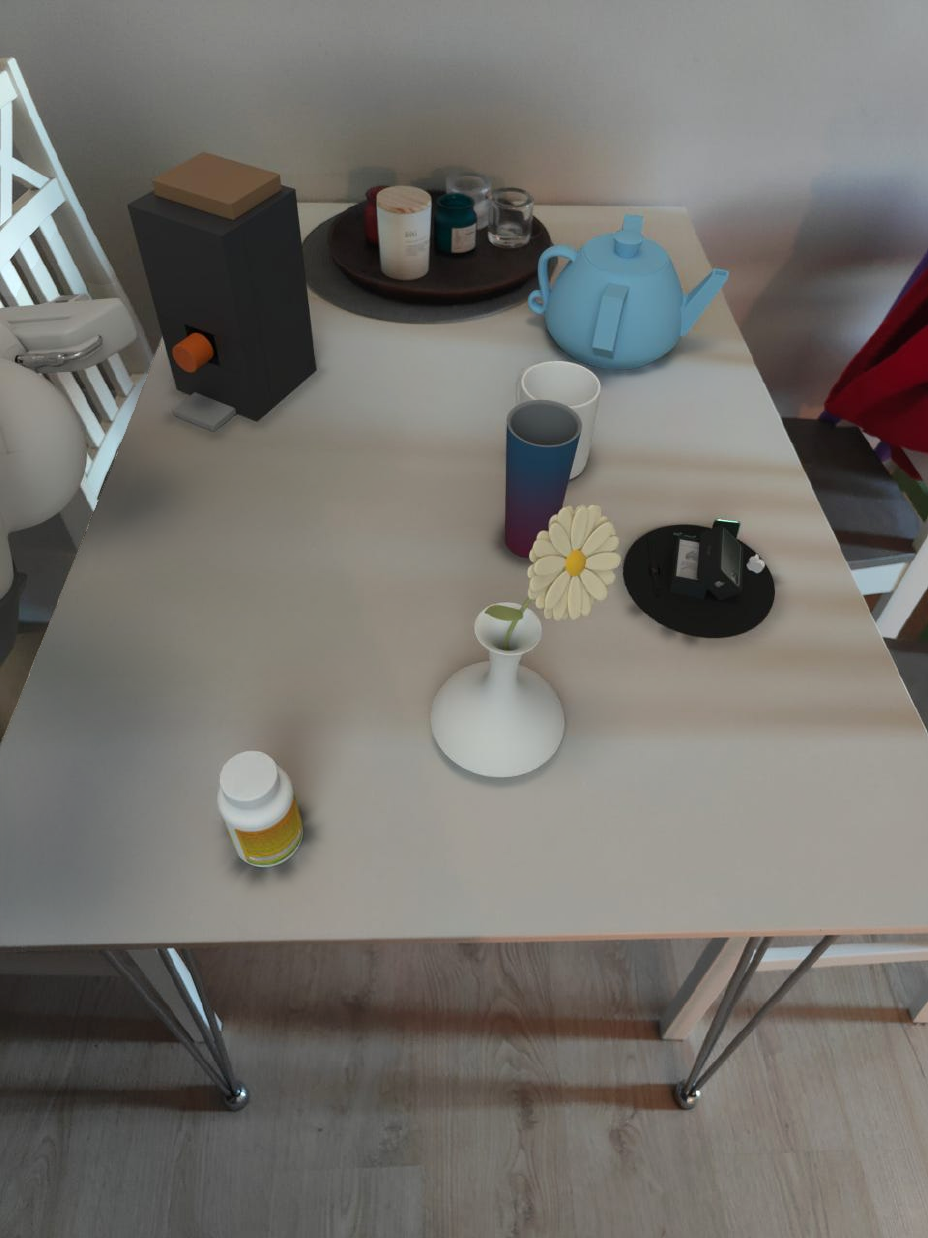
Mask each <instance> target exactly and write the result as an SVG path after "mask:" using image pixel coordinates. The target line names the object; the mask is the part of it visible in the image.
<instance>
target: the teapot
mask: <svg viewBox="0 0 928 1238" xmlns="http://www.w3.org/2000/svg"><path fill="white" fill-rule="evenodd" d="M643 223H644V215H638V214H630V213H624V214H623V221H622V226H621V229H620V230H617V231H615V232H611V233H603V234H600V235H596V236H594V237H592V238H591V239H589V240H587V241H586V242H585V243H584V244H583V245H582V246H580V247H579V249H578V250H576V249H575V248H574V247H572V246H570V245H567V244H555V245H552V246H550V247H548V248H546V249H545V250H544V251H542V253H541V255H540V257H539V259H538V261H537V262H538V263H537V279H538V284H539V289H535V290H533V291H532V292H531V293H530V294H529V295H528V298H527V306H528V309H529V310H530V311H531V312H532V313H534V314H535V315H537V316H538V315H540V316H543V315H544V321H545V325H546V329H547V330H548V332H549V335H550V336H551V337H552V339H553V340H554V342H556V344H557V346H559V347H560V348H561V350H563V352H564V353H565V354H566V355H568V356H569V357H571V358H573V359H574V360H576V361H579V362H580V363H583V364H586V365H588V366H592V367H594V368H595V367H596V368H601V369H607V370H630V369H631V370H632V369H637V368H641V367H644V366H647V365H649V364H652V363H653V362H655V361H656V360H659V359H660V358H662V357H663V356H665V355H666V354H668V353H669V352H670V351H672V349H673V348H674V347H675V346H676V345H677V343H678V342H679V341H680V339H681V337H686V335H687V334H688V333H689V331H691V329H692V327H693V326H694V325H695V323H696V322H697V321H698V319H699V318H700V317H701V315H703V313H704V311H705V310H706V309H707V308H708V306H709V305H710V304H711V303H712V301H713V299H714V298H715V297H716V296H717V294H719V292H720V290H721V289H722V287H723V286H724V285H725V284H726V283H727V281H728V280H729V276H730V270H726V269H722V268H721V269H720V268H716V267H713V268H712V270H711V271H710V272H709V273H708V275H706V276H705V277H704V278H703V279H702V280H701V281H700V282H699V283H698V284H696V286H695V287H693V289H692V290H690V291H689V293H683V288H682V285H681V282H680V279H679V276H678V273H677V271H676V268H675V266H674V263H673V261H672V259H671V257H670V255H669V253H668V252H667V250H666V249H665V248H664V247H663V246H662V245H660V244H659V243H658V242H656V241H654V240H653V239H650V238H648V237H645V236H644V235H643V234H642V231H643ZM555 257H560V258H564V259H566V260H568V262H567V263H566V264H565V265H564V267H563V268H562V269H561V271H560V272H559V274H558V276H557V277H556V279H555V281H554V283H553V285H552V287H551V286H550V280H549V275H548V263H549V260H550V259H551V258H555ZM536 298H540V299H541V303H540V302H538V301H537V300H536Z"/></svg>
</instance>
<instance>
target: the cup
mask: <svg viewBox="0 0 928 1238" xmlns="http://www.w3.org/2000/svg"><path fill="white" fill-rule="evenodd" d="M581 430H582V422H581V419H580V417H579V416H578V414H577V413H576V412H575V411H574V410H572V409H571V408H569V407H568V406H566V405H564V404H561V403H558V402H555V401H550V400H531V401H527V402H524V403H521V404H519V405H517V404H516V405H515V406H514V407H513V408H512V409H511V410H510V411H509V412H508V414H507V416H506V439H505V440H506V441H505V497H504V499H505V506H504V543H505V546H506V547H507V549H508V550H509V551H510V552H512V553H513V554H515V555H516V556H519V557H522V558H527V559H530V558H529V554H530V551H531V549H532V548H533V544H534V542H535V541H536V539H537V535H538V533H539V532H541V531H547V532H549V521H550V519H551V517H552V516H554V515H558V513H559V511H560V510H561V509H562V508H563V505H564V501H565V497H566V493H567V490H568V485H569V482H570V480H569V478H570V474H571V470H572V466H573V462H574V458H575V454H576V450H577V446H578V442H579V438H580V434H581Z"/></svg>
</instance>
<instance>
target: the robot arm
mask: <svg viewBox="0 0 928 1238" xmlns="http://www.w3.org/2000/svg"><path fill="white" fill-rule="evenodd" d="M137 338H138V332H137V328H136V325H135V321H134V319H133V317H132V315H131V312H130V310H129V308H128V307H127V305H126V303H125V301H124V300H123V299H122V298H121V297H108V298H97V299H90V297H89V295H88V294H87V293H75V294H66V295H58V296H57V297H55V298H54V299H51V300H49V301H47V302H44V303H40V304H28V305H17V306H6V307H5V306H4V307H0V668H2V666H3V665H4V663H5V661H6V660H7V659H8V657H9V656H10V654H11V652H12V651H13V650H14V648H15V644H16V641H17V636H18V627H19V619H20V617H19V616H20V602H21V601H20V600H21V599H20V598H21V596H22V594H23V592H24V591H25V589H26V588H27V584H28V583H27V581H28V573H27V572H23V571H18V569H17V565H16V562H15V560H14V558H13V557H12V553H11V548H10V542H9V534H11V533H15V532H19V531H22V530H26V529H29V528H33V527H35V526H38V525H40V524H43V523H44V522H46V521H48V520H51V519H52V518H53V517H54V516H56V515H57V514H58V513H60V512H61V511H62V510H63V509H64V508H65V507H66V506H67V505H68V504H69V503H70V502H71V500H72V499H73V498H74V497H75V496H76V494H77V492H78V490H79V488H80V487H81V484H82V481H83V479H84V476H85V473H86V468H87V462H88V446H87V445H88V444H87V438H86V434H85V430H84V427H83V424H82V421H81V419H80V417H79V414H78V413H77V411H76V410H75V407H74V406H73V405H72V403H71V401H70V400H69V399H68V398H67V397H66V395H64V393H63V392H62V391H61V390H60V389H59V388H57V386H56V385H54V384H53V383H52V382H51V381H50V380H49V379H47V378H45V377H44V376H43V375H41V374H56V373H59V374H60V373H73V372H80V371H83V370H87V369H90V368H92V367H94V366H96V365H98V364H101V363H102V362H104V361H106V360H107V359H109V358H111V357H113V356H115V355H116V354H117V353H119V352H120V351H122V350H123V349H125V348H127V347H128V346H130V345H131V344H133V343H134V342H135V341H136V340H137Z"/></svg>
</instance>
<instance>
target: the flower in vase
mask: <svg viewBox="0 0 928 1238" xmlns="http://www.w3.org/2000/svg"><path fill="white" fill-rule="evenodd" d="M602 513H603V511H602V508H601V506H599V505H596V504H590V505H589V506H587V505H585V504H583V503H581V504H579V505H578V506H576V508H575V509H574V508H573V507H572V506H571V505H567V506H564V507H562V509H561V510H560V511H559V513H558V515H554V516H552V517H551V519H550V521H549V532H547V531H541V532H539V533H538V535H537V539H536V541H535V542H534V544H533V548H532V549H531V551H530V554H529V558H528V559H529V560H530V562H532V563H531V564H530V565H529V566H528V568H527V571H526V574H527V577H528V578H529V583H528V585H529V587H528V589H527V596H528V597H527V598H526V599H525V601H524V603H523V604H519V603H517V602H508V601H507V602H506V601H504V602H497V603H493V604H490V605H488V606H487V607H484V608H483V609H482V610H481V611H480V612H479V613H478V614H477V616H476V617H475V620H474V626H473V629H474V633H475V636H476V638H477V640H478V642H479V643H480V644H481V645H482V646H483V648H485V649H486V650H487V652H488V658H489V660H485V661H479V662H475V663H472V664H470V665H466V666H465V667H463V668H461V669H459V670H457V671H456V672H454V673H453V674H452V675H451V676H449V677H448V678H447V679H446V680H445V681H444V682H443V684H442V685H441V686H440V688H439V689H438V691H437V693H436V694H435V696H434V698H433V701H432V703H431V707H430V717H429V718H430V719H429V721H430V728H431V733H432V735H433V737H434V739H435V742H436V743H437V745H438V746H439V748H440V749H441V751H442V752H443V753H444V755H446V756H447V758H448V759H450V760H451V761H452V762H453V763H455V764H456V765H458V766H459V767H461V768H463V769H465V770H467V771H469V772H471V773H474V774H477V775H480V776H484V777H490V778H511V777H515V776H517V777H518V776H521V775H524V774H527V773H529V772H532V771H534V770H536V769H537V768H539V767H540V766H542V765H544V764H545V763H546V762H548V761H549V760H550V759H551V757H552V756H553V755H554V754H555V753H556V751H558V748H559V747H560V744H561V742H562V740H563V737H564V734H565V724H566V723H565V721H566V719H565V713H564V709H563V706H562V703H561V701H560V699H559V697H558V695H557V693H556V691H555V689H554V688H553V686H551V684H550V683H549V682H548V681H547V680H546V679H545V678H544V677H543V676H542V675H540V674H539V673H537V672H536V671H534V670H532V669H530V668H528V667H526V666H525V665H522V664H520V662H521V659H522V657H523V655H524V654H526V653H528V652H530V651H532V650H533V649H535V648H536V647H537V645H538V644H539V642H540V641H541V639H542V635H543V626H542V621H541V620H540V619H539V617H538V615H537V614H536V613H535V612H534V611H533V610H532V609H530V608H529V605H530V604H531V602H532V601H533V600H534V602H535V603H534V604H535V606H536V608H537V609H538V610H542V609H543V615H544V617H545V619H546V620H551V619H552V618H553V619H554V620H555V621H556V622H560V621H561V620H566V619H568V618H570V619H571V620H572V621H576V620H578V619H579V618H580V617H581V615H582V616H583V617H587V616H589V615H590V614H591V612H592V607H593V606H594V604H595V601H596V600H597V601H599V602H603V601H605V600H606V599H607V598H608V595H609V590H608V586H610V585H612V584H614V583H615V581H616V577H617V576H616V573H615V569H616V568H618V567H619V566H620V565H621V563H622V556H621V555H620V554H619V553H617V548H618V547H619V545H620V538H619V536H617V535H616V534H617V530H616V528H615V527H614V524H613V523H612V522H611V521H609V518H608V517H607V516H606V515H602Z"/></svg>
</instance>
